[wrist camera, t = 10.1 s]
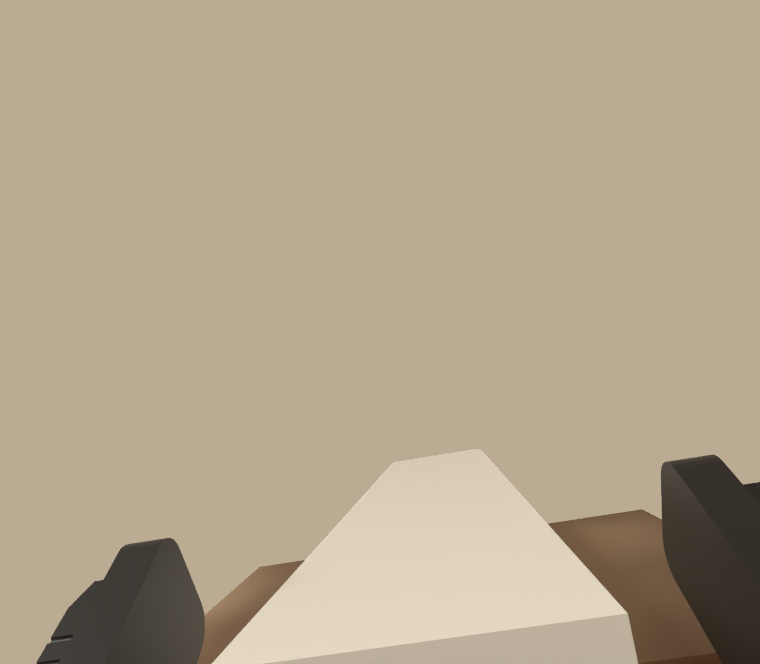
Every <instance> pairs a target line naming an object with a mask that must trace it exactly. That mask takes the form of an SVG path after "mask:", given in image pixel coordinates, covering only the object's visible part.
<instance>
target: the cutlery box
mask: <svg viewBox="0 0 760 664" xmlns="http://www.w3.org/2000/svg"><path fill="white" fill-rule="evenodd" d="M212 664H638V660H637V655H636V651H635V646H634V641H633V636H632V631H631V627H630V622H629V617H628V613H627V612H626V611H625V610H624V609H623V608H622V606H621V605H620V604H619V603H618V602H617V601H616V600H615V599H614V598H613V596H612V595H611V594H610V593H609V592H608V591H607V590H606V589H605V587H604V586H603V585H602V584H601V583H600V582H599V581H598V580H597V579H596V577H595V576H594V575H593V574H592V573H591V572H590V571H589V570H588V569H587V567H586V566H585V565H584V564H583V563H582V562H581V561H580V560H579V558H578V557H577V556H576V555H575V554H574V553H573V552H572V551H571V550H570V548H569V547H568V546H567V545H566V544H565V543H564V542H563V541H562V540H561V538H560V537H559V536H558V535H557V534H556V533H555V532H554V531H553V529H552V528H551V527H550V526H549V525H548V524H547V523H546V522H545V521H544V519H543V518H542V517H541V516H540V515H539V514H538V513H537V512H536V511H535V509H534V508H533V507H532V506H531V505H530V504H529V503H528V502H527V501H526V499H525V498H524V497H523V496H522V495H521V494H520V493H519V492H518V491H517V489H516V488H515V487H514V486H513V485H512V484H511V483H510V481H509V480H508V479H507V478H506V477H505V476H504V475H503V474H502V473H501V472H500V470H499V469H498V468H497V467H496V466H495V465H494V464H493V463H492V461H491V460H490V459H489V458H488V457H487V456H486V455H485V454H484V453H483V451H482V450H481V449H473V450H467V451H461V452H454V453H448V454H442V455H436V456H430V457H423V458H417V459H411V460H405V461H398V462H393V463H392V464H391V465H390V467H389V468H388V469H387V470H386V471H385V472H384V473H383V474H382V475H381V476H380V478H379V479H378V480H377V481H376V482H375V483H374V484H373V485H372V486H371V488H370V489H369V490H368V491H367V492H366V493H365V494H364V495H363V496H362V497H361V499H360V500H359V501H358V502H357V503H356V504H355V505H354V506H353V508H352V509H351V510H350V511H349V512H348V513H347V514H346V515H345V516H344V518H343V519H342V520H341V521H340V522H339V523H338V524H337V525H336V526H335V527H334V529H333V530H332V531H331V532H330V533H329V534H328V535H327V536H326V537H325V539H324V540H323V541H322V542H321V543H320V544H319V545H318V546H317V547H316V549H315V550H314V551H313V552H312V553H311V554H310V555H309V556H308V557H307V559H306V560H305V561H304V562H303V563H302V564H301V565H300V566H299V567H298V568H297V570H296V571H295V572H294V573H293V574H292V575H291V576H290V577H289V578H288V580H287V581H286V582H285V583H284V584H283V585H282V586H281V587H280V588H279V590H278V591H277V592H276V593H275V594H274V595H273V596H272V597H271V598H270V600H269V601H268V602H267V603H266V604H265V605H264V606H263V607H262V608H261V609H260V611H259V612H258V613H257V614H256V615H255V616H254V617H253V618H252V619H251V621H250V622H249V623H248V624H247V625H246V626H245V627H244V628H243V629H242V631H241V632H240V633H239V634H238V635H237V636H236V637H235V638H234V639H233V641H232V642H231V643H230V644H229V645H228V646H227V647H226V648H225V649H224V651H223V652H222V653H221V654H220V655H219V656H218V657H217V658H216V659H215V661H214V662H213V663H212Z"/></svg>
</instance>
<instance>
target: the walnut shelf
mask: <svg viewBox="0 0 760 664" xmlns="http://www.w3.org/2000/svg"><path fill="white" fill-rule="evenodd" d="M548 525H549V526H550V527H551V528H552V529H553V531H554V532H555V533H556V534H557V535H558V536H559V537H560V538H561V540H562V541H563V542H564V543H565V544H566V545H567V546H568V547H569V548H570V550H571V551H572V552H573V553H574V554H575V555H576V556H577V557H578V558H579V560H580V561H581V562H582V563H583V564H584V565H585V566H586V567H587V569H588V570H589V571H590V572H591V573H592V574H593V575H594V576H595V577H596V579H597V580H598V581H599V582H600V583H601V584H602V585H603V586H604V587H605V589H606V590H607V591H608V592H609V593H610V594H611V595H612V596H613V598H614V599H615V600H616V601H617V602H618V603H619V604H620V605H621V606H622V608H623V609H624V610H625V611H626V612H627V613H628V617H629V622H630V627H631V631H632V636H633V641H634V646H635V651H636V655H637V660H638V664H722V662H721V660H720V658H719V657H718V655H717V653H716V651H715V650H714V648H713V646H712V644H711V643H710V641H709V639H708V637H707V636H706V634H705V632H704V630H703V629H702V627H701V625H700V623H699V622H698V620H697V618H696V616H695V615H694V613H693V611H692V609H691V608H690V606H689V604H688V602H687V601H686V599H685V597H684V595H683V594H682V592H681V590H680V588H679V587H678V585H677V583H676V581H675V579H674V577H673V575H672V573H671V570H670V568H669V565H668V562H667V559H666V555H665V551H664V545H663V534H662V520H661V519H659V518H658V517H656V516H654V515H651V514H650V513H648V512H646V511H644V510H636V511H629V512H623V513H616V514H610V515H603V516H597V517H589V518H583V519H577V520H569V521H563V522H556V523H550V524H548ZM304 561H305V560H303V561H297V562H290V563H284V564H277V565H271V566H264V567H259V568H258V569H257V570H256V571H255V572H254V573H252V574H251V575H250V576H249V577H248V578H247V579H245V580H244V581H243V582H242V583H241V584H240V585H239V586H237V587H236V588H235V589H234V590H233V591H232V592H231V593H229V595H227V596H226V597H225V598H224V599H223V600H221V601H220V602H219V603H218V604H217V605H216V606H215V607H213V608H212V609H211V610H210V611H209V612H208V613H207V614H205V615H204V618H205V634H204V641H203V646H202V649H201V652H200V656H199V659H198V662H197V664H212V663H213V662H214V661H215V659H216V658H217V657H218V656H219V655H220V654H221V653H222V652H223V651H224V649H225V648H226V647H227V646H228V645H229V644H230V643H231V642H232V641H233V639H234V638H235V637H236V636H237V635H238V634H239V633H240V632H241V631H242V629H243V628H244V627H245V626H246V625H247V624H248V623H249V622H250V621H251V619H252V618H253V617H254V616H255V615H256V614H257V613H258V612H259V611H260V609H261V608H262V607H263V606H264V605H265V604H266V603H267V602H268V601H269V600H270V598H271V597H272V596H273V595H274V594H275V593H276V592H277V591H278V590H279V588H280V587H281V586H282V585H283V584H284V583H285V582H286V581H287V580H288V578H289V577H290V576H291V575H292V574H293V573H294V572H295V571H296V570H297V568H298V567H299V566H300V565H301V564H302V563H303V562H304Z"/></svg>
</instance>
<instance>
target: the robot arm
mask: <svg viewBox="0 0 760 664" xmlns="http://www.w3.org/2000/svg"><path fill="white" fill-rule="evenodd" d="M661 493H662V494H661V495H662V534H663V545H664V551H665V555H666V559H667V562H668V565H669V568H670V570H671V573H672V575H673V577H674V579H675V581H676V583H677V585H678V587H679V588H680V590H681V592H682V594H683V595H684V597H685V599H686V601H687V602H688V604H689V606H690V608H691V609H692V611H693V613H694V615H695V616H696V618H697V620H698V622H699V623H700V625H701V627H702V629H703V630H704V632H705V634H706V636H707V637H708V639H709V641H710V643H711V644H712V646H713V648H714V650H715V651H716V653H717V655H718V657H719V658H720V660H721V662H722V664H760V482H758V483H752V484H745V485H743V484H742V483H741V482H740V481H739V480H738V478H737V477H736V476H735V475H734V474H733V473H732V472H731V470H730V469H729V468H728V467H727V466H726V465H725V463H724V462H723V461H722V460H721V459H720V458H719V457H717V456H715V455H708V456H702V457H695V458H689V459H682V460H675V461H670V462H665V463H663V465H662V469H661ZM204 634H205V618H204V611H203V607H202V604H201V601H200V599H199V596H198V594H197V591H196V589H195V586H194V584H193V581H192V579H191V576H190V574H189V571H188V569H187V566H186V564H185V561H184V559H183V556H182V554H181V551H180V549H179V547H178V545H177V543H176V542H175V541H174V540H173V539H171V538H165V539H159V540H153V541H147V542H140V543H133V544H128V545H125V546H123V547H122V548H121V549H120V551H119V553H118V554H117V556H116V558H115V560H114V562H113V564H112V566H111V567H110V569H109V571H108V573H107V575H106V576H105V578H104V580H101V581H95V582H94V583H93V584H92V585H91V586H90V587H89V588H88V589H87V590H86V591H85V592H84V593H83V594H82V595H81V596H80V597H79V598H78V599H77V600H76V601H75V602H74V603H73V604H72V605H71V606H70V607H69V608H68V609H67V611H66V613H65V615H64V616H63V618H62V620H61V621H60V623H59V625H58V627H57V628H56V630H55V632H54V633H53V635H52V637H51V643H49V644H47V645H46V647H45V649H44V651H43V652H42V654H41V656H40V658H39V659H38V661H37V664H197V662H198V659H199V656H200V652H201V649H202V646H203V641H204Z"/></svg>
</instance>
